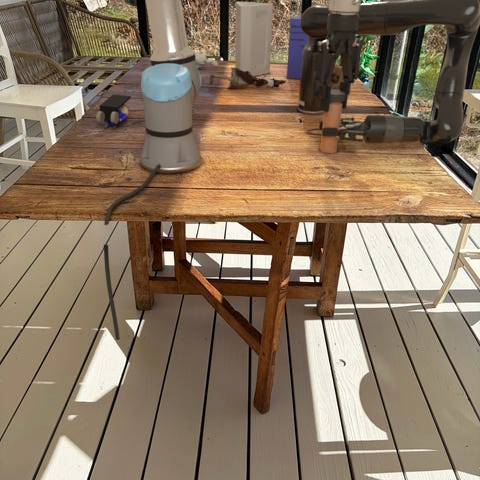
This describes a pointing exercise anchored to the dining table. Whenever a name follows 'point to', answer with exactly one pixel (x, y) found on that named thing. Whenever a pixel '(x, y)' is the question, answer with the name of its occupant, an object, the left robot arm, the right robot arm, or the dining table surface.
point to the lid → (337, 95)
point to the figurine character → (113, 110)
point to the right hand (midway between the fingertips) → (321, 128)
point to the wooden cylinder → (331, 121)
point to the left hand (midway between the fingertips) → (333, 108)
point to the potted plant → (336, 78)
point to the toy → (203, 60)
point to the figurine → (246, 79)
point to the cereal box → (295, 48)
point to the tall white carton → (253, 37)
